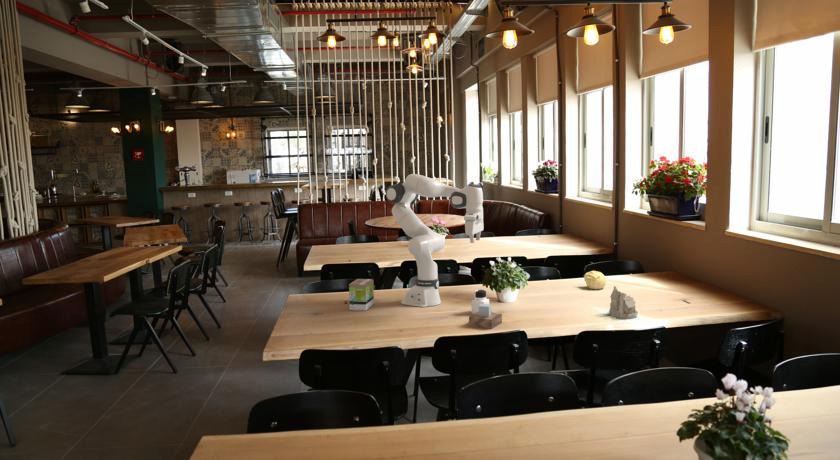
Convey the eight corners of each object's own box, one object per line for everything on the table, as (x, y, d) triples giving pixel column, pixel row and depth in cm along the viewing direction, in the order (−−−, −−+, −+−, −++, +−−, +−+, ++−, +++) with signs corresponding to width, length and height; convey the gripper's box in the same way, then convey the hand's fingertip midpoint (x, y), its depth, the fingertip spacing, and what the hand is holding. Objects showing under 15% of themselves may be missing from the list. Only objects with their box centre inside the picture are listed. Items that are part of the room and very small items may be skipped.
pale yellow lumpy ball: (581, 287, 370) (581, 270, 369) (596, 285, 375) (596, 268, 374) (593, 291, 360) (594, 273, 359) (609, 289, 365) (609, 271, 364)
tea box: (367, 311, 330) (365, 284, 328) (349, 310, 332) (348, 283, 330) (374, 304, 344) (373, 278, 342) (357, 303, 346) (356, 278, 344)
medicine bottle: (489, 312, 321) (489, 289, 319) (483, 315, 315) (483, 292, 313) (477, 310, 324) (476, 288, 323) (471, 313, 318) (471, 291, 317)
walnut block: (469, 326, 296) (468, 316, 295) (479, 320, 306) (479, 311, 306) (491, 329, 290) (491, 319, 289) (501, 323, 300) (501, 313, 299)
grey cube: (478, 316, 296) (478, 306, 295) (481, 313, 301) (481, 303, 300) (488, 316, 294) (488, 306, 294) (491, 314, 299) (491, 304, 298)
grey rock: (622, 319, 299) (624, 289, 298) (602, 313, 314) (604, 284, 313) (649, 318, 303) (650, 288, 302) (628, 311, 319) (629, 283, 318)
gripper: (475, 213, 330) (475, 238, 331) (462, 217, 311) (463, 244, 313) (486, 213, 327) (486, 238, 329) (474, 217, 309) (474, 244, 310)
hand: (475, 241), depth 321 cm, fingers open, 8 cm apart
